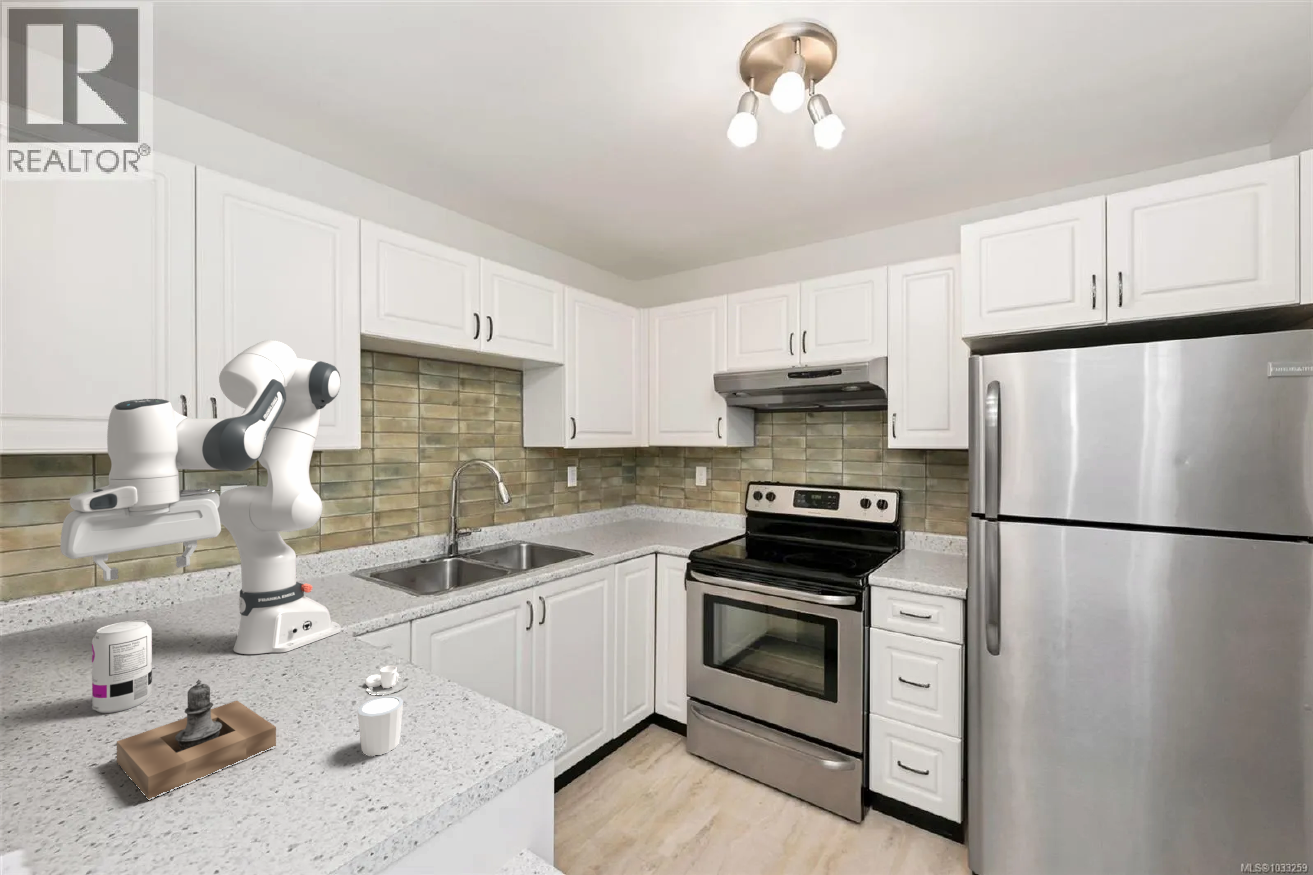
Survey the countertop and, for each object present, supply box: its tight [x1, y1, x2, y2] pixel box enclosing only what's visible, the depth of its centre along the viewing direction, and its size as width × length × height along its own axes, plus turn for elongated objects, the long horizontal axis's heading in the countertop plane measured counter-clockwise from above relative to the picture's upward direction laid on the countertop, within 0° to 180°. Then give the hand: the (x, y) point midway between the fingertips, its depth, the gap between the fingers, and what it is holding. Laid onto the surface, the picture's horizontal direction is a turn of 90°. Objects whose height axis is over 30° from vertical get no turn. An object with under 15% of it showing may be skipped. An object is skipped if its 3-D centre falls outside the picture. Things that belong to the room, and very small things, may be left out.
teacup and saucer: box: [364, 665, 400, 696], centre depth 114 cm, size 9×8×4 cm
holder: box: [116, 700, 277, 799], centre depth 89 cm, size 16×16×4 cm
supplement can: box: [91, 619, 153, 714], centre depth 106 cm, size 8×8×15 cm
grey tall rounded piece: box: [175, 679, 222, 750], centre depth 89 cm, size 6×6×12 cm
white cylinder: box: [357, 695, 404, 755], centre depth 92 cm, size 7×7×7 cm
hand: (148, 573), depth 95 cm, fingers open, 8 cm apart
